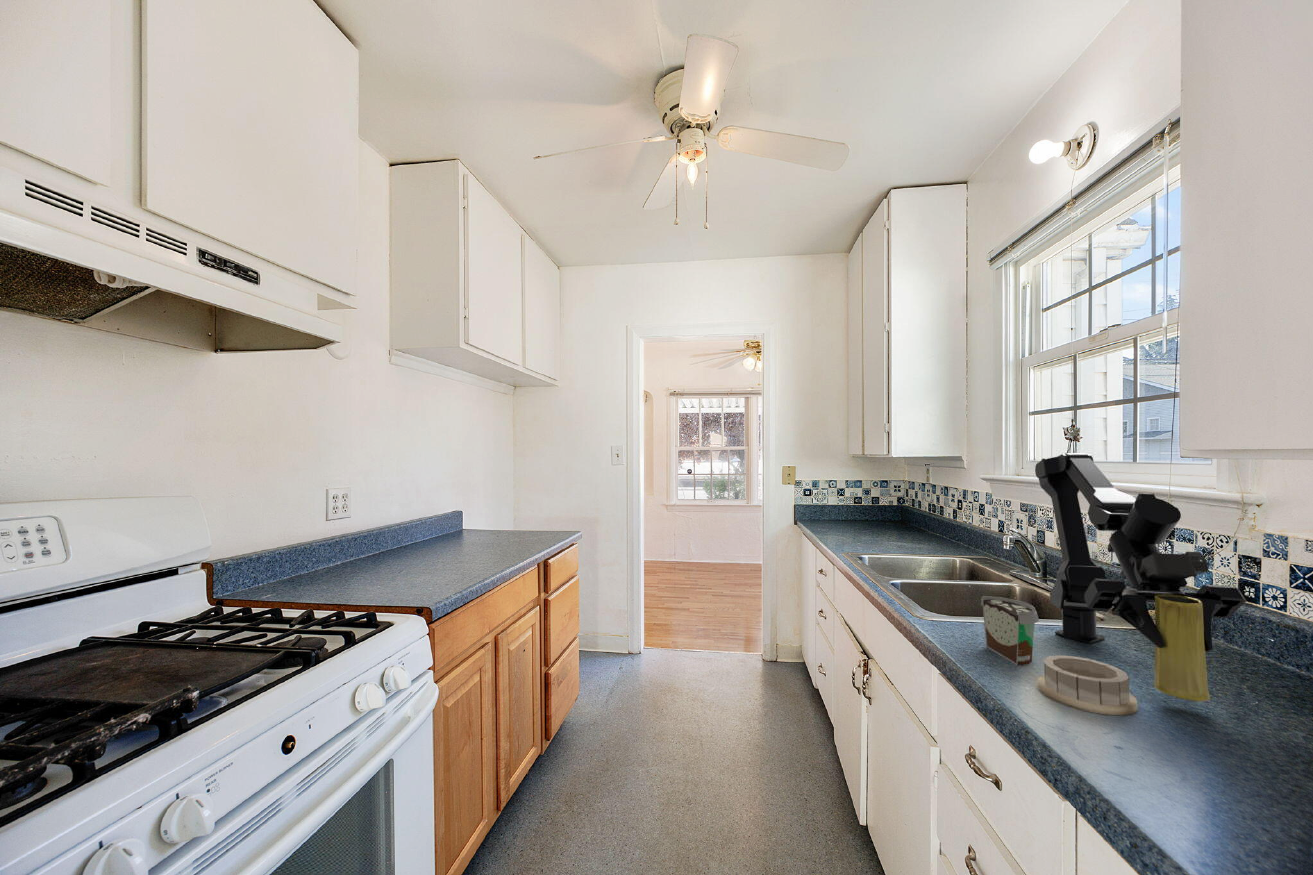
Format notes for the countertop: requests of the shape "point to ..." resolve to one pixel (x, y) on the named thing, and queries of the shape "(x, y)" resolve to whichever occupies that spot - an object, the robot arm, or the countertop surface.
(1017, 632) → the food container
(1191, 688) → the vase
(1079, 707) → the collar stand
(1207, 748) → the countertop surface
